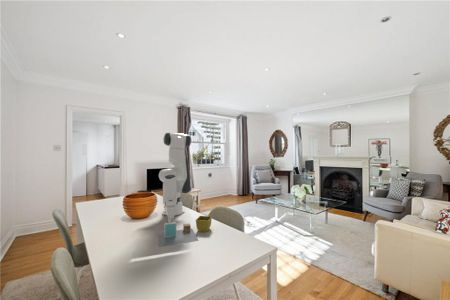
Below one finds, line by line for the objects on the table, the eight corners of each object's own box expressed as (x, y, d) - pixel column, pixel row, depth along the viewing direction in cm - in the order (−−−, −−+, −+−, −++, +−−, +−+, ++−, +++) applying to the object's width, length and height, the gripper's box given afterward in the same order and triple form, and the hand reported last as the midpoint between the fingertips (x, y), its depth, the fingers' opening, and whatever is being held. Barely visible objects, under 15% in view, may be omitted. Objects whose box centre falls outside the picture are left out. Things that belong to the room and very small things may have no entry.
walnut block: (183, 230, 131) (183, 224, 131) (189, 229, 133) (189, 223, 133) (184, 232, 128) (184, 226, 128) (190, 231, 129) (190, 225, 129)
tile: (164, 236, 121) (164, 223, 121) (176, 234, 124) (176, 222, 124) (164, 237, 120) (164, 224, 120) (176, 235, 122) (176, 222, 122)
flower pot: (208, 234, 127) (208, 220, 127) (195, 233, 129) (195, 219, 129) (211, 229, 136) (212, 216, 136) (199, 228, 137) (199, 215, 138)
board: (157, 234, 127) (157, 232, 127) (192, 230, 134) (192, 228, 134) (159, 248, 108) (159, 246, 108) (198, 242, 116) (198, 240, 116)
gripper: (163, 197, 137) (163, 217, 137) (165, 204, 118) (165, 227, 118) (173, 196, 139) (172, 216, 139) (176, 203, 120) (176, 226, 120)
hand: (169, 221), depth 128 cm, fingers closed
